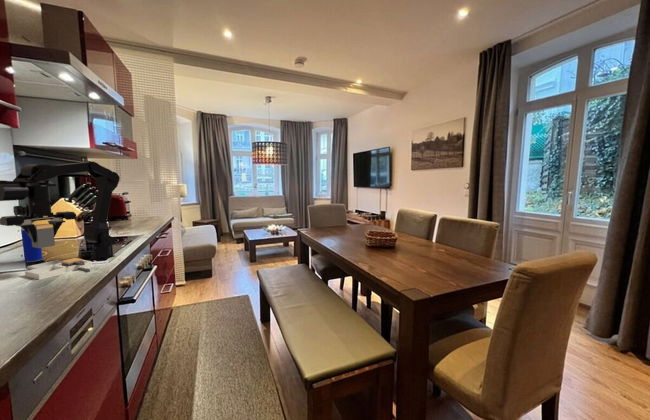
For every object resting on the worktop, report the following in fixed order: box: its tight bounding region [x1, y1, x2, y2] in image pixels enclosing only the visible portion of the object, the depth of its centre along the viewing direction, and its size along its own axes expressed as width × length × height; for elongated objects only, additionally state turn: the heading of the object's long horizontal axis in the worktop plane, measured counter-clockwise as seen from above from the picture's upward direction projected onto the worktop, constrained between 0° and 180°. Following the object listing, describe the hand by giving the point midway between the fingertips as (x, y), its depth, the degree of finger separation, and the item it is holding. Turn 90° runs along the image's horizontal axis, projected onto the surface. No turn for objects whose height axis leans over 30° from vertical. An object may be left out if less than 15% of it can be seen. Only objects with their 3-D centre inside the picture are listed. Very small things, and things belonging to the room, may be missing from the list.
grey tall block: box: [32, 223, 56, 249], centre depth 99 cm, size 4×4×8 cm
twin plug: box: [60, 257, 91, 273], centre depth 105 cm, size 4×12×4 cm, turn 69°
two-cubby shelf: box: [24, 259, 93, 280], centre depth 103 cm, size 16×9×2 cm, turn 160°
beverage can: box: [20, 227, 44, 263], centre depth 114 cm, size 5×5×15 cm
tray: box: [26, 259, 62, 270], centre depth 107 cm, size 9×9×1 cm
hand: (43, 241), depth 99 cm, fingers closed on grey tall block, 4 cm apart
